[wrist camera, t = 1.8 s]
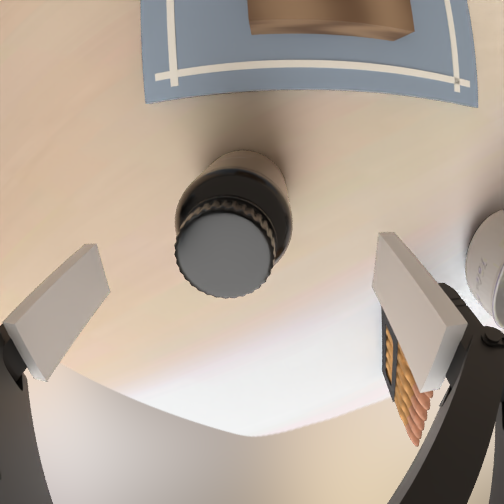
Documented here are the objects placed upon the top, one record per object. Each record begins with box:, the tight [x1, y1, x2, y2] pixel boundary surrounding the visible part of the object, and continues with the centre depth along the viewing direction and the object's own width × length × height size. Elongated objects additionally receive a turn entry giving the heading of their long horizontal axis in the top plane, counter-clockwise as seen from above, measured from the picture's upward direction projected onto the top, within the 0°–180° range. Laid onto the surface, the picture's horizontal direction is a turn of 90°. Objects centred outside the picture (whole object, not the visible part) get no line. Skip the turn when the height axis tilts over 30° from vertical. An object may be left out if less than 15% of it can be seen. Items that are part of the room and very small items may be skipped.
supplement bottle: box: [175, 150, 292, 299], centre depth 20 cm, size 7×7×12 cm
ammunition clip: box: [381, 306, 433, 447], centre depth 26 cm, size 11×2×12 cm, turn 15°
